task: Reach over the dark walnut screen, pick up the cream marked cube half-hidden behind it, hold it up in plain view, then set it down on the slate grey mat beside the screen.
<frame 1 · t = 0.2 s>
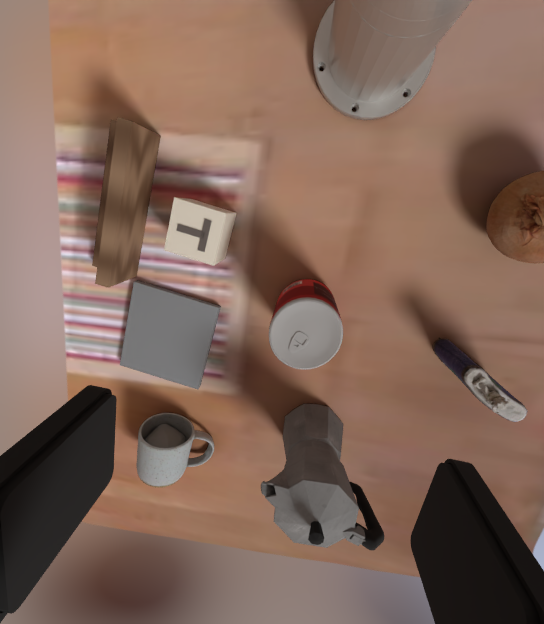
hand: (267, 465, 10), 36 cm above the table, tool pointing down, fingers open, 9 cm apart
flask: (458, 361, 46), on the table
canned food: (305, 306, 46), on the table
marked cube: (208, 229, 44), on the table
ceramic mug: (182, 434, 54), on the table
coffeepot: (318, 431, 51), on the table
slate mat: (170, 335, 49), on the table
onion: (514, 217, 40), on the table
walnut screen: (141, 208, 44), on the table
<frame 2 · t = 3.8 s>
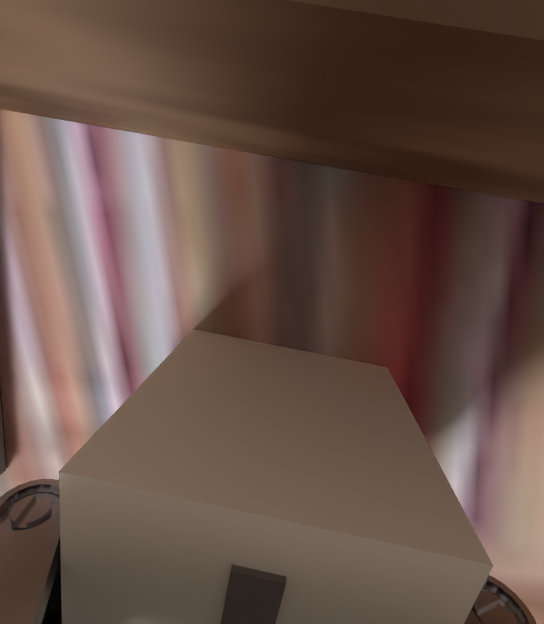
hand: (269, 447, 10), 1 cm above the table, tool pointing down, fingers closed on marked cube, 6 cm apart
marked cube: (272, 430, 11), on the table, touching gripper
walnut screen: (334, 131, 9), on the table
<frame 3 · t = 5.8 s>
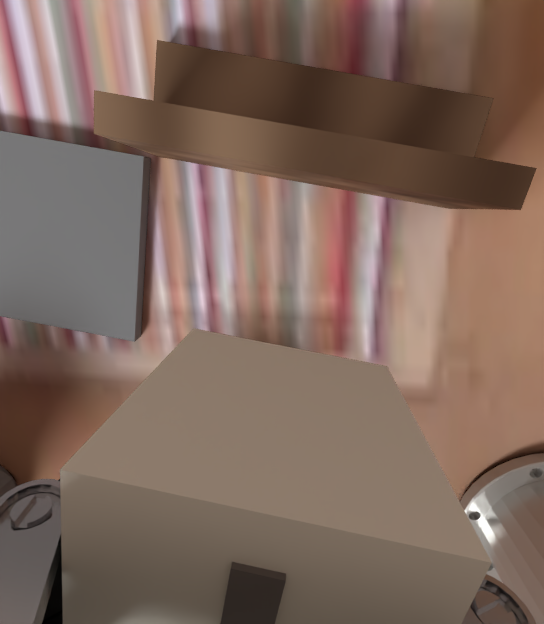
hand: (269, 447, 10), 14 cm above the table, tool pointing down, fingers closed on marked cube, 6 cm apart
marked cube: (272, 429, 11), point 13 cm above the table, touching gripper
slate mat: (51, 237, 23), on the table
walnut screen: (305, 168, 21), on the table
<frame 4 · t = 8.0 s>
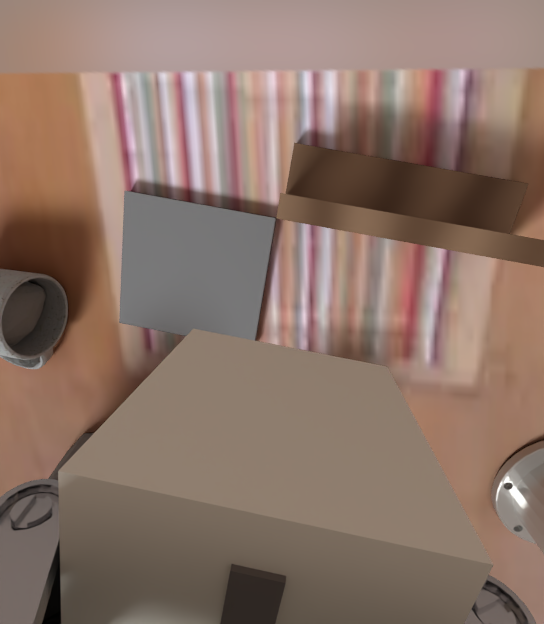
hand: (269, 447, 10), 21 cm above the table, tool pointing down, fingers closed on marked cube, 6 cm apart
marked cube: (272, 430, 11), point 21 cm above the table, touching gripper
ceramic mug: (36, 312, 34), on the table
coffeepot: (106, 470, 39), on the table
slate mat: (195, 272, 31), on the table
walnut screen: (389, 226, 29), on the table
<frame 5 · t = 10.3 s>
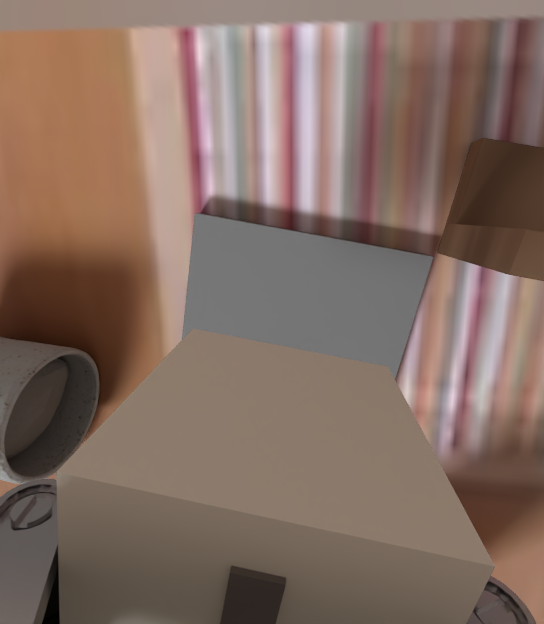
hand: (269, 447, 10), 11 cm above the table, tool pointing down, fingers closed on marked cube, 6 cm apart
marked cube: (272, 430, 11), point 10 cm above the table, touching gripper
ceramic mug: (53, 389, 24), on the table
slate mat: (292, 331, 21), on the table
when the fingers open (3 cm above the table, at t = 12.1 s): marked cube drops 1 cm, resting on slate mat.
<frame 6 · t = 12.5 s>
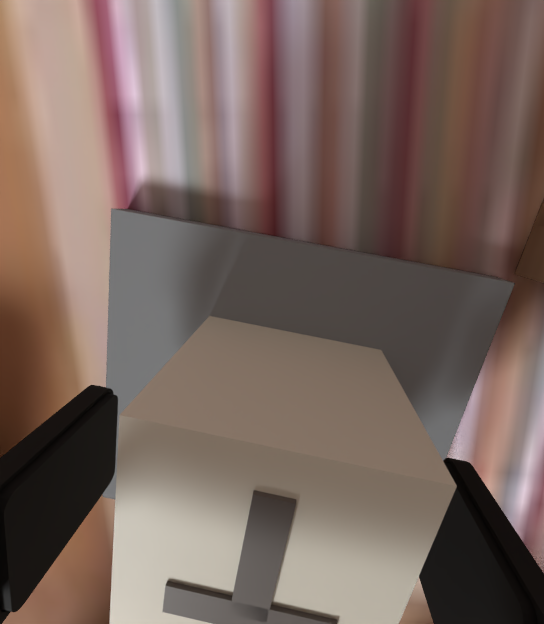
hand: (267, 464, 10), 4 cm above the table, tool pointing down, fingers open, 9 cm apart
marked cube: (278, 407, 13), point 1 cm above the table, touching slate mat
slate mat: (277, 393, 14), on the table
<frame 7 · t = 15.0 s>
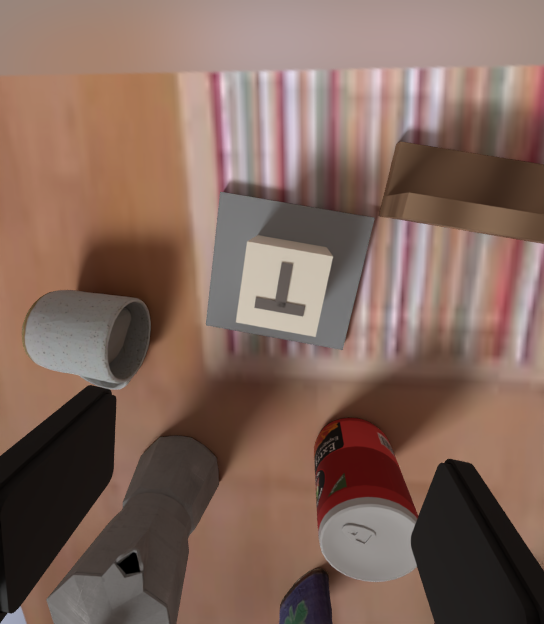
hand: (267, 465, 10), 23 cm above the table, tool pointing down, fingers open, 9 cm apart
flask: (303, 588, 43), on the table
canned food: (351, 445, 36), on the table
marked cube: (285, 275, 30), point 1 cm above the table, touching slate mat
ceramic mug: (116, 333, 34), on the table
coffeepot: (179, 473, 39), on the table
slate mat: (285, 273, 31), on the table
walnut screen: (488, 224, 28), on the table
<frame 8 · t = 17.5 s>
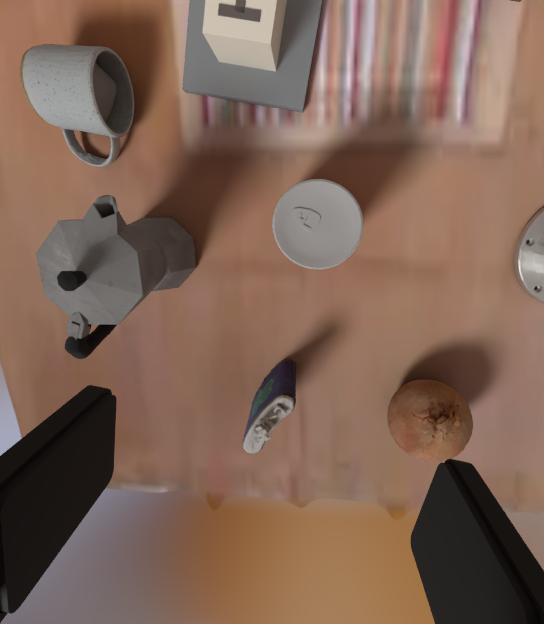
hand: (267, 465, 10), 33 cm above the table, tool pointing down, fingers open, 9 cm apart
flask: (273, 384, 46), on the table
canned food: (313, 222, 40), on the table
marked cube: (252, 32, 34), point 1 cm above the table, touching slate mat
ceramic mug: (104, 116, 39), on the table
coffeepot: (160, 260, 43), on the table
slate mat: (252, 37, 35), on the table
onion: (416, 399, 45), on the table
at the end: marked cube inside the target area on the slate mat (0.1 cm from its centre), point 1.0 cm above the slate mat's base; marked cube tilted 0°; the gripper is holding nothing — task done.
